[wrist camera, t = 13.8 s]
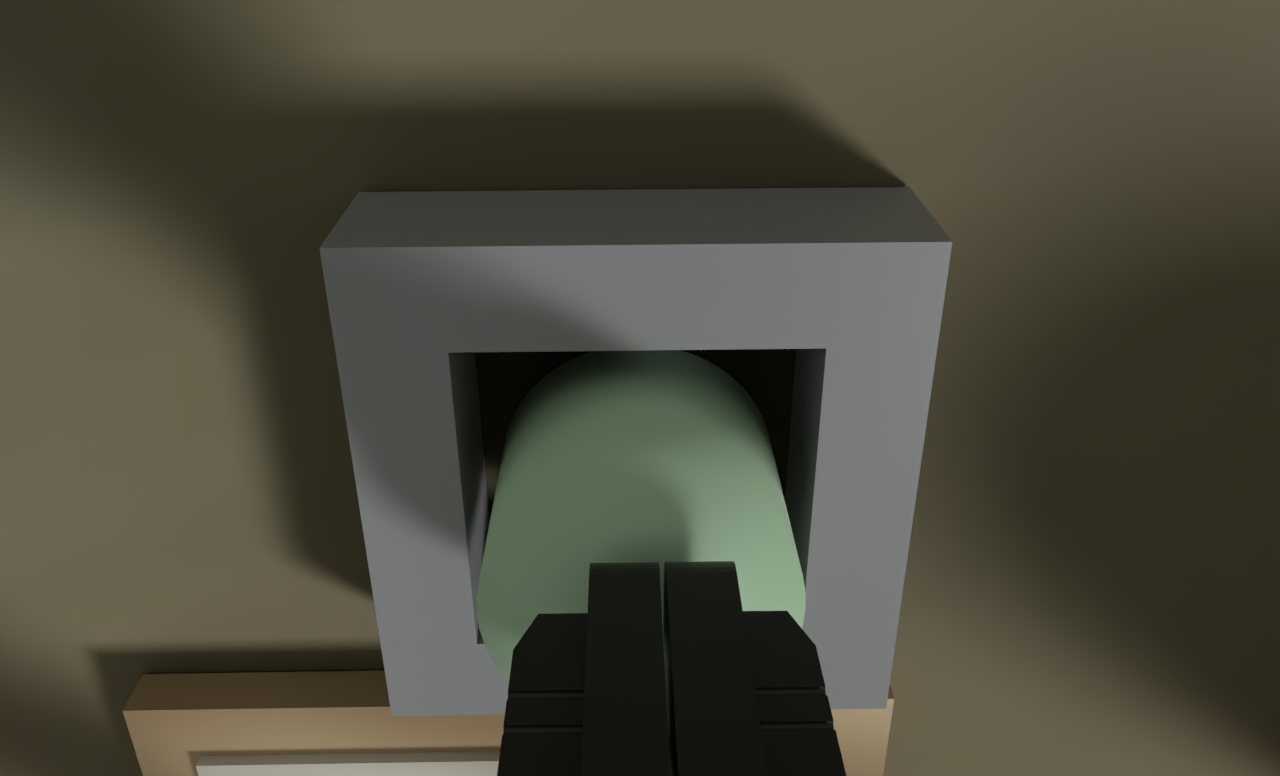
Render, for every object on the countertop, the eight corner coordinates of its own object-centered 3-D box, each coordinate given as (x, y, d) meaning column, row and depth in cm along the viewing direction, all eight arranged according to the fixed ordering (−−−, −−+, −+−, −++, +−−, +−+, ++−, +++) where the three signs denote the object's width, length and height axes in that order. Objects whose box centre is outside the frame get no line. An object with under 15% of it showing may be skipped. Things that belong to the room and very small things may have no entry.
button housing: (858, 615, 17) (885, 708, 15) (415, 622, 17) (391, 716, 15) (908, 186, 14) (952, 242, 12) (358, 192, 13) (319, 248, 12)
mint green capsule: (764, 570, 15) (794, 729, 13) (511, 573, 15) (488, 733, 12) (779, 342, 13) (817, 470, 11) (494, 345, 13) (463, 474, 11)
